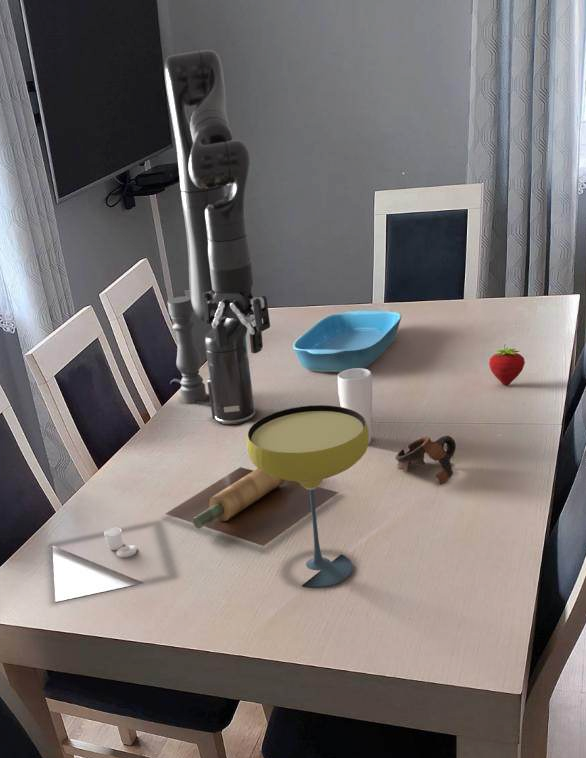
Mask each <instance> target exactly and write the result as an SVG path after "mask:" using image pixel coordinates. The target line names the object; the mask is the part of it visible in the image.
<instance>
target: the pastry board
mask: <svg viewBox="0 0 586 758" xmlns="http://www.w3.org/2000/svg"><path fill="white" fill-rule="evenodd" d="M253 471H254V470H253V469H249V468H245V467H242V466H241V467H240V466H239V468H236V469H235V470H233V471H232V472H230V473H229V474H227V475H225V476H224V477H222V478H221V479H219V480H217V481H216V482H214V483H212V484H211V485H209V486H208V487H206V488H204V489H202V490H201V491H200V492H198V493H196V494H195V495H193V496H191V497H190V498H188V499H187V500H185V501H183V502H181V503H180V504H179V505H177V506H175V507H174V508H172V509H170V510H168V511H167V512H165V515H167V516H170V517H173V518H176V519H179V520H183V521H185V522H189V523H191V524H193V518H195V517H196V516H198V515H199V514H201V513H202V512H204V511H205V510H207V509H209V508H210V504H209V503H210V499H211V498H212V497H213V496H215V495H216V494H218V493H219V492H221V491H222V490H224V489H226V488H227V487H229V486H230V485H232V484H234V483H235V482H237V481H238V480H240V479H241V478H243V477H245V476H246V475H248V474H249V473H251V472H253ZM338 493H339V491H335V490H332V489H329V488H328V489H327V488H325V487H320V486H318V487H317V488H316V489H314V499H315V510H316V509H317V508H319V507H320V506H321V505H323V504H324V503H326V502H327V501H329V500H330V499H331V498H333V497H334V496H335V495H336V494H338ZM310 513H312V509H311V499H310V490H308V489H306V488H304V487H303V486H302V485H301V484H300V483H299V482H296V481H289V480H285V481H284V482H283V483H282V484H281V485H280V486H278V487H277V488H275V489H274V490H272V491H271V492H269V493H267V494H266V495H264V496H263V497H261V498H260V499H258V500H257V501H255V502H254V503H252V504H251V505H249V506H248V507H246V508H245V509H243V510H242V511H240V512H239V513H237V514H236V515H234V516H233V517H231V518H230V519H228V520H227V521H221V520H219V519H218V518H216V519H214V520H213V521H211V522H210V523H208V524H207V525H205V526H204V527H203V528H207V529H210V530H213V531H215V532H219V533H220V532H221V533H223V534H225V535H229V536H232V537H235V538H238V539H241V540H245V541H248V542H250V543H253V544H256V545H259V546H262V547H264V546H266V545H267V544H268V543H270V542H271V541H272V540H274V539H275V538H277V537H278V536H280V535H281V534H282V533H284V532H285V531H286V530H288V529H289V528H291V527H292V526H293V525H295V524H296V523H298V522H299V521H300V520H302V519H303V518H304V517H306V516H308V515H309V514H310Z"/></svg>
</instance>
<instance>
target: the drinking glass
mask: <svg viewBox="0 0 586 758" xmlns="http://www.w3.org/2000/svg"><path fill="white" fill-rule="evenodd" d="M337 393H338V400H339V407H343V408H347V409H351V410H353V411H355V412H357V413H359V414H360V415H362V416H363V417H364V419H365V421H366V423H367V426H368V432H369V442H368V444H370V443H371V442H372V413H373V412H372V411H373V379H372V372H371V370H370V369H367V368H364V369H362V368H354V369H348V370H344V371H342V372H338V374H337Z"/></svg>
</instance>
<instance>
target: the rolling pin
mask: <svg viewBox="0 0 586 758" xmlns="http://www.w3.org/2000/svg"><path fill="white" fill-rule="evenodd" d="M284 481H285V480H283V479H279V478H276V477H273V476H270V475H268V474H266V473H264V472H263V471H261V470H260V469H258V468H257V467H256V468H255V469H254V470H253V472H251V473H249V474H248V475H246V476H245V477H243V478H241V479H240V480H238V481H237V482H235V483H234V484H232V485H230V486H229V487H227V488H226V489H224V490H222V491H221V492H219V493H218V494H216V495H215V496H213V497H212V498H211V499H210V503H209V504H210V508H209V509H207V510H205V511H204V512H202V513H201V514H199V515H198V516H196V517H195V518H193V523H192V524H193V526H194V527H195V528H197V529H202V528H205V527H204V526H205V525H207V524H208V523H210V522H211V521H213V520H214V519H216V518H218V519H219V520H221V521H227V520H228V519H230V518H231V517H233V516H234V515H236V514H237V513H239V512H240V511H242V510H243V509H245V508H246V507H248V506H249V505H251V504H252V503H254V502H255V501H257V500H258V499H260V498H261V497H263V496H264V495H266V494H267V493H269V492H271V491H272V490H274V489H275V488H277V487H278V486H280V485H281V484H282V483H283V482H284Z"/></svg>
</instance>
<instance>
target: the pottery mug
mask: <svg viewBox="0 0 586 758" xmlns="http://www.w3.org/2000/svg"><path fill="white" fill-rule="evenodd" d="M445 445H446V449H445ZM406 448H407V451H406V452H405V449H404V448H403V449H401V450H399V452H397V454H396V455H395V460H396V461H397V469H398V470H402V471H403V470H404V471H405V472H407V473H409V472H410V465H411V464H413V465H417V466H425V465H426V462H425V455H426V454H427V455H428V456H429V458H430V459H431V460H432V461H435V462H438V463H439V464H440V466H441V469H440V470H439V471H438V472H437V473H436V474H435V478H436V479H437V480H438V483H439V485H443V484H444V483H445V482H447V481H448V480H449V479H450V478H451V477H452V476H453V474H454V472H453V468H452V465H451V464H452V462H451V459H452V458H453V457H454V454H455V453H456V449H457V444H456V441H455V439H454V438H453V437H452V436H451V435H444V436H441V437H439V438H438V439H436V440H434V441H433V440H432V439H431V438H430V436H421V437H420V438H418V439H416V440H413V441H412V442H411V443H409V444H408V445H407V446H406Z"/></svg>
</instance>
